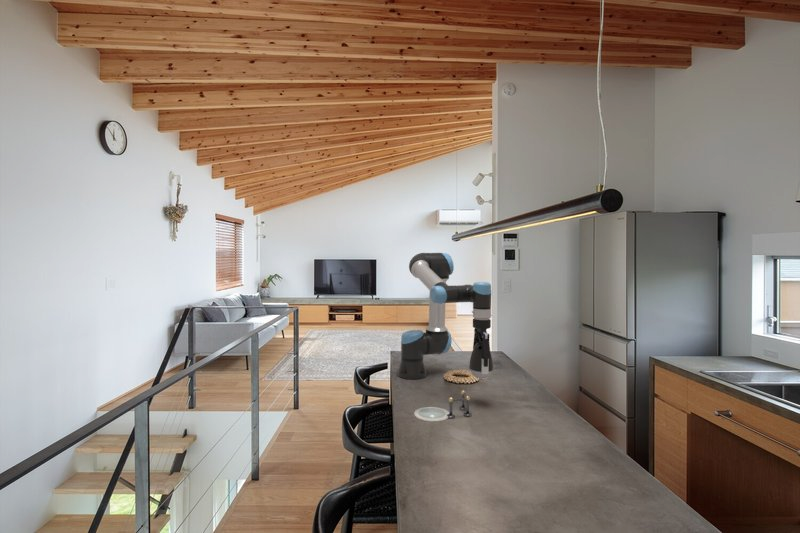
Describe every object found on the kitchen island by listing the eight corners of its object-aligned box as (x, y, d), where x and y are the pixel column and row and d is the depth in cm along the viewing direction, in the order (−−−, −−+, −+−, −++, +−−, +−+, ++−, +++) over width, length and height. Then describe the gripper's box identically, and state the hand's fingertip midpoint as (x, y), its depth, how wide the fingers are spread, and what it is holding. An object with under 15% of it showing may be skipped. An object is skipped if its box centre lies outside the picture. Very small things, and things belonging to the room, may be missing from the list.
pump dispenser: (465, 378, 179) (466, 342, 178) (473, 372, 188) (473, 338, 187) (489, 381, 174) (489, 345, 173) (496, 375, 183) (496, 340, 183)
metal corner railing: (442, 408, 176) (442, 389, 176) (466, 407, 177) (466, 388, 177) (447, 418, 165) (447, 398, 165) (473, 417, 166) (473, 398, 166)
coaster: (412, 408, 175) (412, 407, 175) (445, 407, 177) (445, 406, 177) (417, 422, 161) (417, 420, 161) (453, 420, 163) (453, 419, 163)
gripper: (466, 314, 191) (465, 363, 192) (480, 323, 168) (480, 378, 169) (482, 314, 192) (482, 363, 193) (499, 322, 169) (498, 377, 170)
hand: (481, 370), depth 181 cm, fingers closed on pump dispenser, 10 cm apart
